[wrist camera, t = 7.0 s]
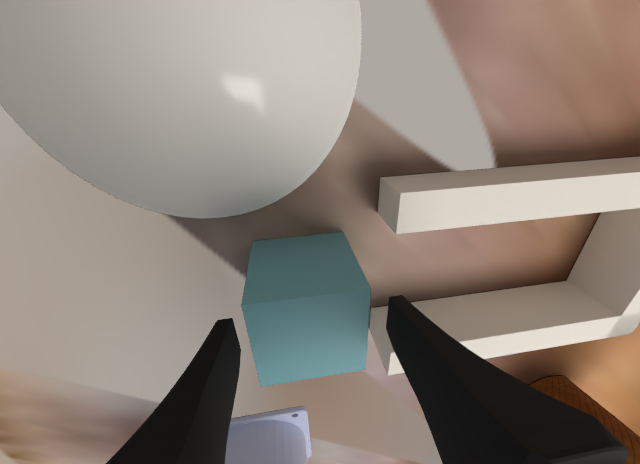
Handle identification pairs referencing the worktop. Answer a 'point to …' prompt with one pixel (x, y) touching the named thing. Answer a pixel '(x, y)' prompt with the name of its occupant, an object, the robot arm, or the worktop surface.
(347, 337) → the cube
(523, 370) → the worktop surface
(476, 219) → the frame
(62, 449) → the worktop surface
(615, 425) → the disposable coffee cup
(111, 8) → the dish
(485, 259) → the worktop surface
